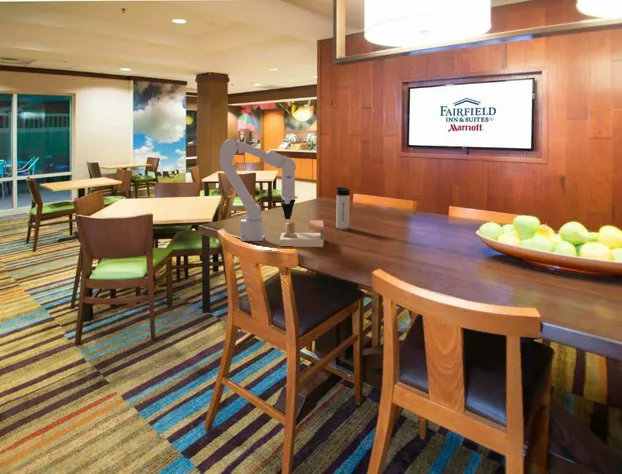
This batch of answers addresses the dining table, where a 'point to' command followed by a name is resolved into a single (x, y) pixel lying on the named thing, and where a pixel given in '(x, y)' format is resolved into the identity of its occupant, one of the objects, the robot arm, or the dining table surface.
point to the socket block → (305, 237)
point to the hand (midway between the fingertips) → (288, 217)
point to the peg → (290, 230)
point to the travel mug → (342, 208)
